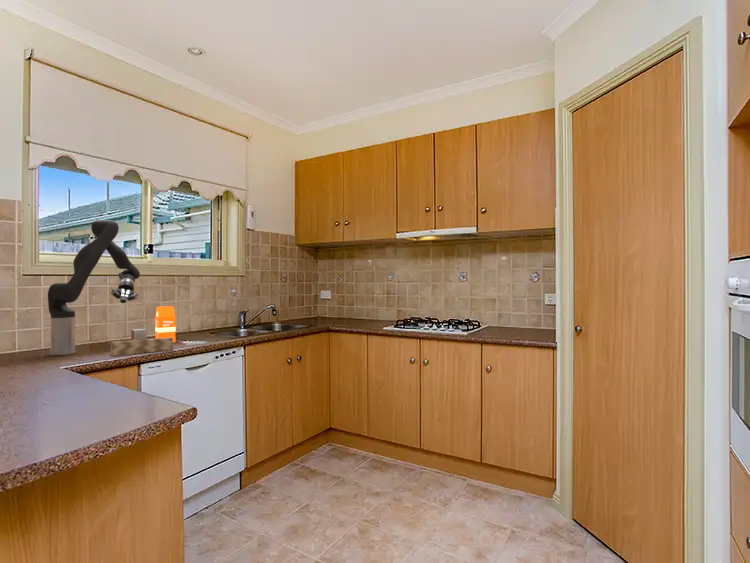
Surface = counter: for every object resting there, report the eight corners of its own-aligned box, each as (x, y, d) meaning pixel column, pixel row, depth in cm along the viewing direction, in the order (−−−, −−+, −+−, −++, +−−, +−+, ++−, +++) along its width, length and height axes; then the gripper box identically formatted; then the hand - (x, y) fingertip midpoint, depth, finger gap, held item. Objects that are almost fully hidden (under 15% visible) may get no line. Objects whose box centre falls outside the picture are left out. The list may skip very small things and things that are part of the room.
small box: (131, 350, 209) (130, 329, 209) (144, 349, 212) (143, 328, 212) (134, 352, 203) (133, 330, 202) (147, 351, 206) (146, 329, 206)
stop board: (111, 355, 194) (111, 342, 194) (110, 354, 197) (110, 342, 197) (172, 350, 211) (172, 337, 211) (171, 349, 213) (171, 337, 213)
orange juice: (155, 341, 238) (155, 306, 238) (172, 340, 244) (172, 305, 244) (158, 343, 232) (158, 307, 232) (175, 342, 238) (175, 306, 238)
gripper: (114, 278, 227) (109, 292, 213) (141, 283, 234) (139, 297, 219) (110, 290, 229) (106, 305, 215) (138, 295, 236) (135, 310, 222)
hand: (123, 301), depth 217 cm, fingers closed
